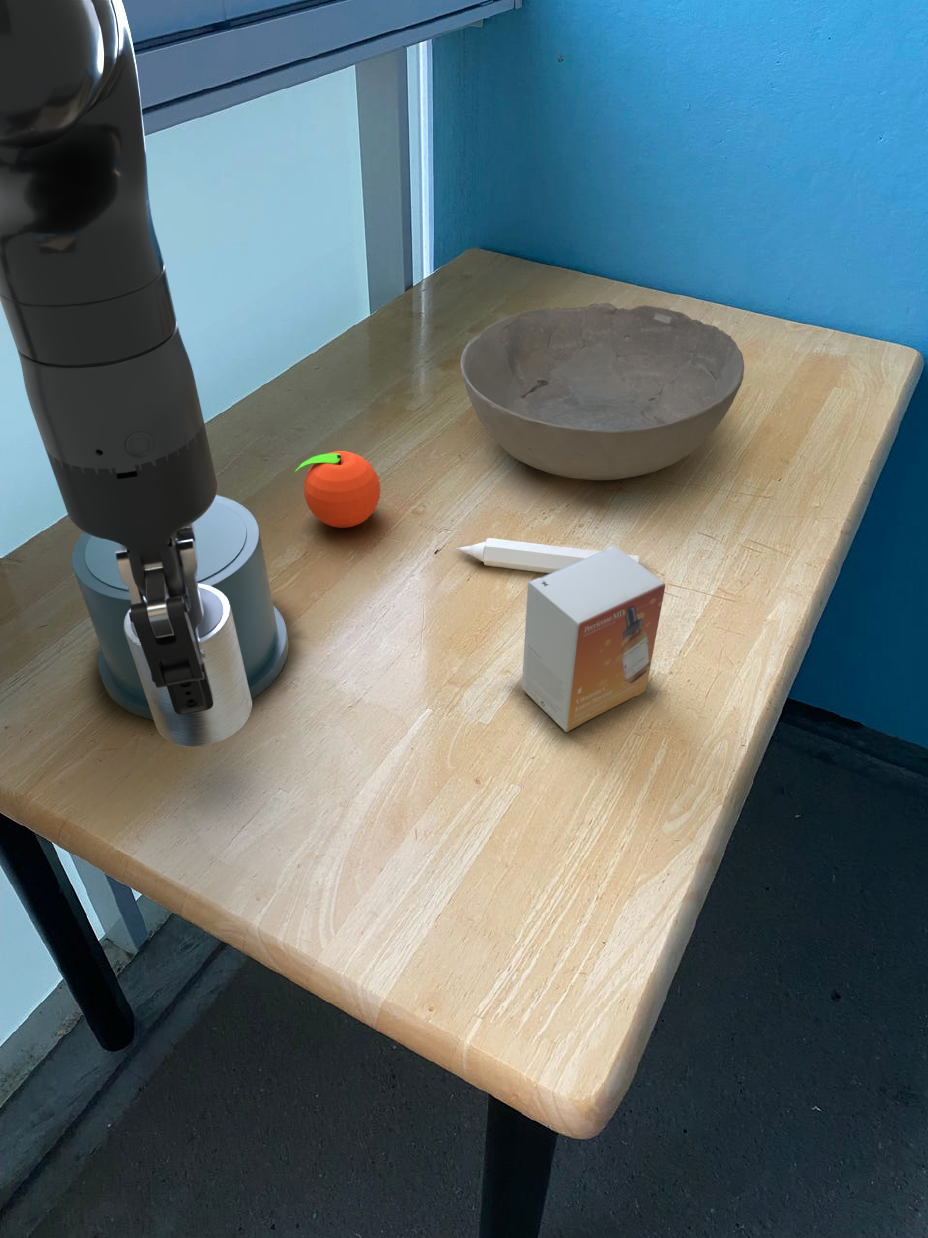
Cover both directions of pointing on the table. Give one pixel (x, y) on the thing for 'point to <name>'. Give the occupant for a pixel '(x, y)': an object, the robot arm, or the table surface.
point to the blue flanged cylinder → (223, 564)
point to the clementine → (341, 488)
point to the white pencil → (527, 555)
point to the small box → (590, 636)
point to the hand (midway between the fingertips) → (191, 669)
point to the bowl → (601, 387)
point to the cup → (222, 674)
